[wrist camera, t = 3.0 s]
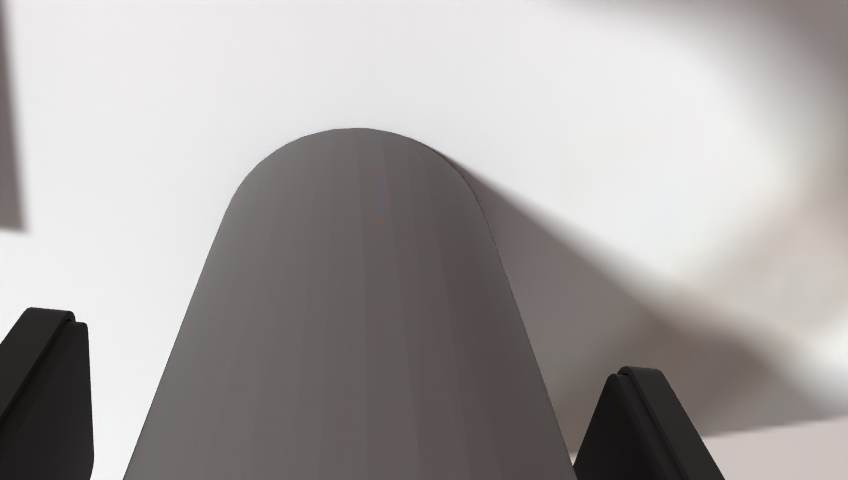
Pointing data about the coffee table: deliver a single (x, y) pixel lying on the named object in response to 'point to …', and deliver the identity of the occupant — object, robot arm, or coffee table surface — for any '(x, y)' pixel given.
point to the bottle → (352, 332)
